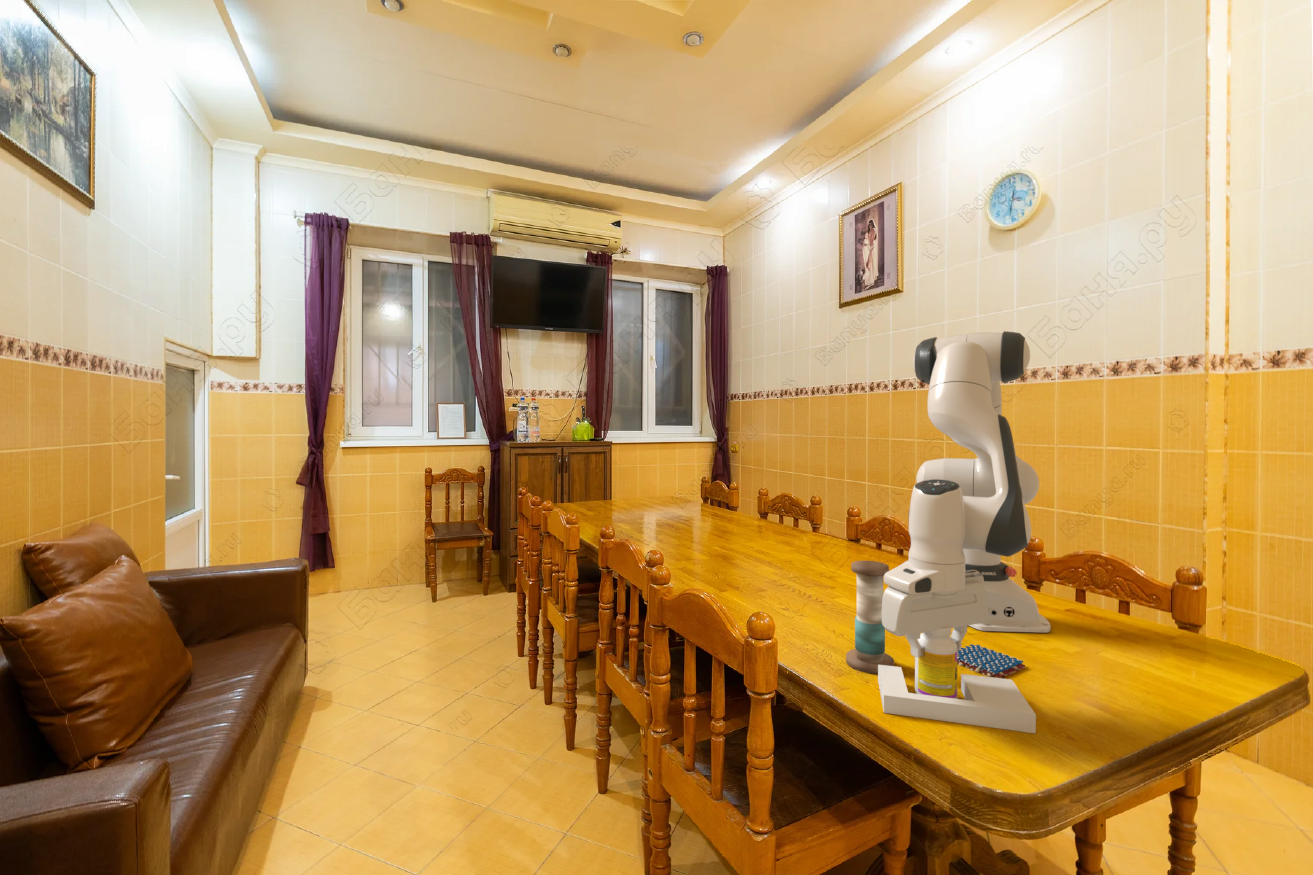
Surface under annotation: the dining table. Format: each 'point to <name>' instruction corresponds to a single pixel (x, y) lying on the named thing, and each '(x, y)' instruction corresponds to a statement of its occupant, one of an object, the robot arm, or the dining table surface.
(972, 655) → the woven mat
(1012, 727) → the notched board
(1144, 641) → the dining table surface
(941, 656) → the supplement bottle
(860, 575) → the bobbin
